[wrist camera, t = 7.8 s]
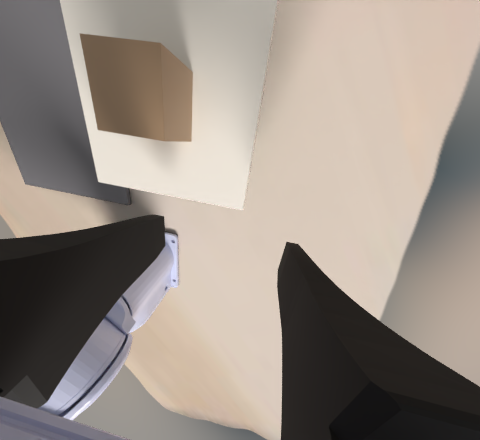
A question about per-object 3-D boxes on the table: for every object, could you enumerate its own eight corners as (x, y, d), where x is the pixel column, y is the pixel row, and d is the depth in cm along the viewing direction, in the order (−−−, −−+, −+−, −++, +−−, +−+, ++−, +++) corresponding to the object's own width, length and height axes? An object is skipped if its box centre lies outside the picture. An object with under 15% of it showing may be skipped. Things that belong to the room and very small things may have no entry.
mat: (131, 203, 22) (128, 205, 22) (30, 183, 24) (25, 184, 23) (103, 5, 15) (98, 1, 14) (-45, -9, 16) (-54, -14, 15)
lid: (244, 207, 15) (234, 230, 11) (106, 180, 16) (52, 192, 12) (281, -19, 9) (290, -137, 5) (64, -36, 10) (-60, -144, 6)
